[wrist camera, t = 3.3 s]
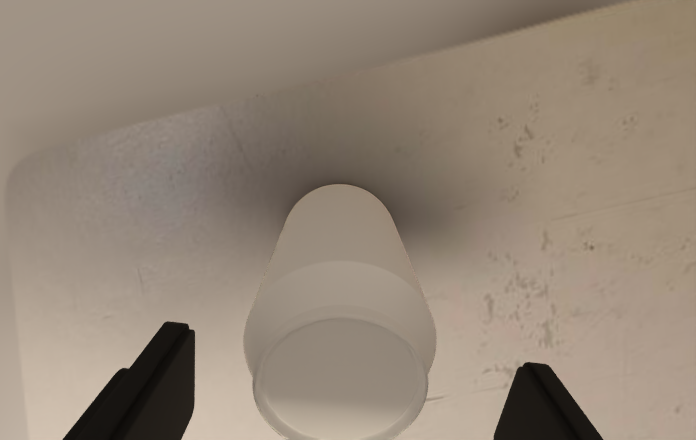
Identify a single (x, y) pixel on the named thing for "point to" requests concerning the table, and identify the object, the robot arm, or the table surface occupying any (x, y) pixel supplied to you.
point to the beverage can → (339, 324)
